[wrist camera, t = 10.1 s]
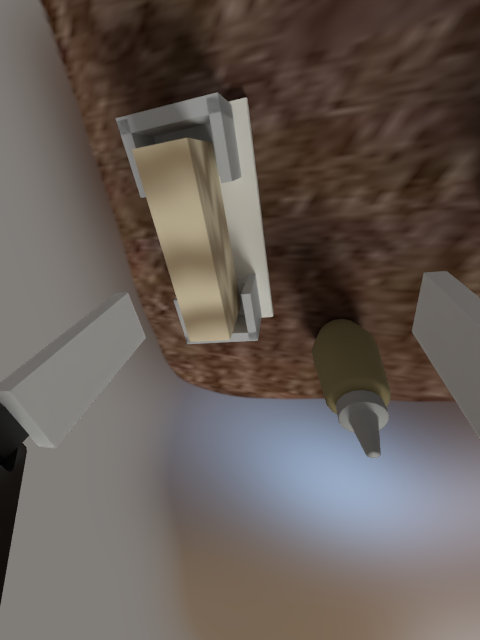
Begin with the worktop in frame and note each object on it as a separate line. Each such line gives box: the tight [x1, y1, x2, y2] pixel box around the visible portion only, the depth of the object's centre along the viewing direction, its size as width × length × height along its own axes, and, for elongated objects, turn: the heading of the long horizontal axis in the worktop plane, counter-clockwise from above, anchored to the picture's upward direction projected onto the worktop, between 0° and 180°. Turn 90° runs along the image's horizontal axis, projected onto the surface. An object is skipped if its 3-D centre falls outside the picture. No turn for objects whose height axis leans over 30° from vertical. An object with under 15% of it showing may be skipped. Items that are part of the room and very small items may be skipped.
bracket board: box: [116, 92, 273, 344], centre depth 30 cm, size 24×12×7 cm, turn 10°
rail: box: [132, 138, 241, 342], centre depth 28 cm, size 18×4×8 cm, turn 9°
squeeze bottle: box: [312, 319, 391, 458], centre depth 31 cm, size 8×8×18 cm
